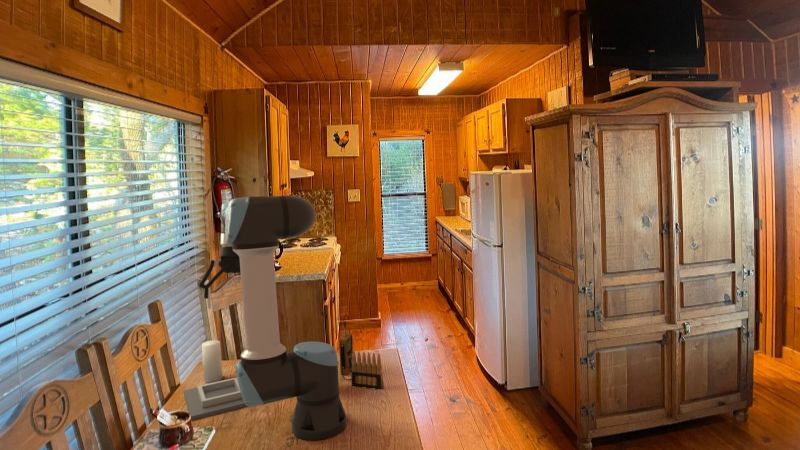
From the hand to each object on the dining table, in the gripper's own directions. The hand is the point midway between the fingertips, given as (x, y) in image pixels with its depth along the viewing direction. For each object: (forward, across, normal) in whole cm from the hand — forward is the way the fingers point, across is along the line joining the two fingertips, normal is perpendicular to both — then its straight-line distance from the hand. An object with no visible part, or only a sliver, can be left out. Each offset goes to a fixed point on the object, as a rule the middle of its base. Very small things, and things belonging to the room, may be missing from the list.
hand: (229, 307), depth 163 cm
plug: (+25, +4, -8) cm, 26 cm away
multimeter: (+24, -42, +11) cm, 50 cm away
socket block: (+28, +3, +9) cm, 30 cm away
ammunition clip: (+27, -41, +24) cm, 55 cm away
